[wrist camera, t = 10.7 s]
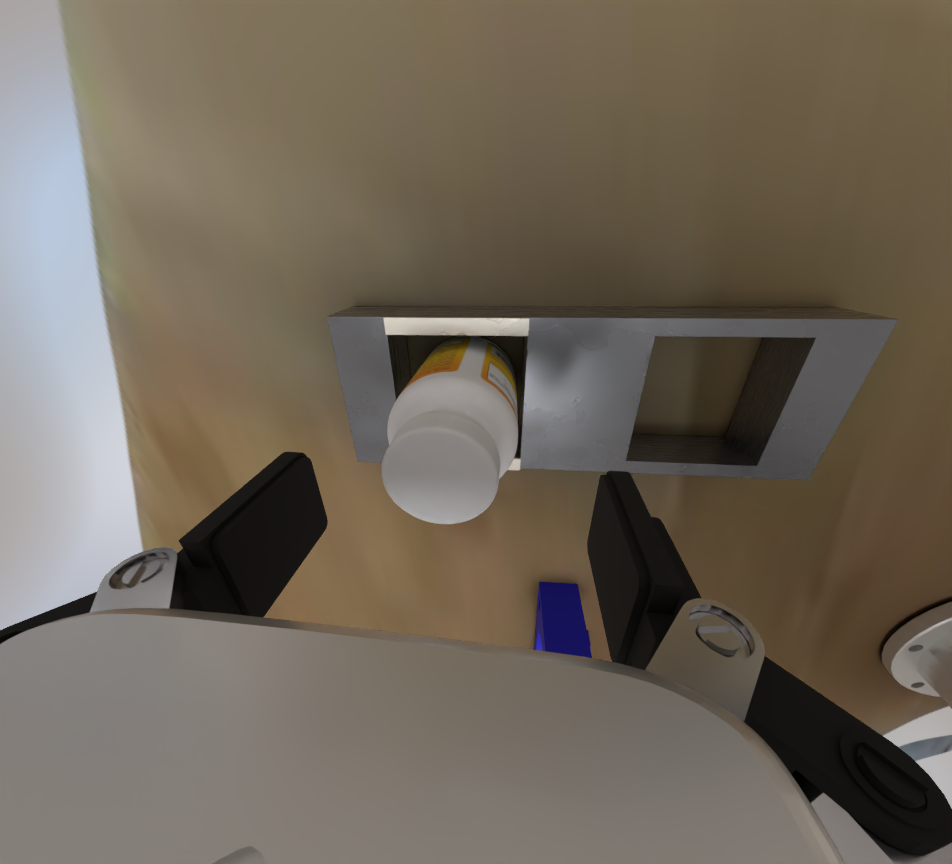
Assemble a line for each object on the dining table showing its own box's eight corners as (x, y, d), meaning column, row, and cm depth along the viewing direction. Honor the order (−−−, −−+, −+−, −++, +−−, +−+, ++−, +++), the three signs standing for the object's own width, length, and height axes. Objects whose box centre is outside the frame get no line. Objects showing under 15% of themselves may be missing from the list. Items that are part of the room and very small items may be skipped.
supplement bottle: (416, 408, 21) (352, 518, 13) (434, 321, 18) (367, 385, 10) (500, 432, 21) (493, 555, 13) (529, 349, 19) (544, 436, 10)
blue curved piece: (579, 665, 33) (592, 744, 28) (532, 662, 33) (536, 739, 28) (596, 582, 27) (616, 662, 22) (539, 579, 28) (545, 657, 23)
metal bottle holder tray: (836, 307, 16) (903, 320, 14) (769, 449, 20) (811, 482, 17) (352, 306, 18) (324, 317, 16) (375, 435, 22) (356, 463, 19)
